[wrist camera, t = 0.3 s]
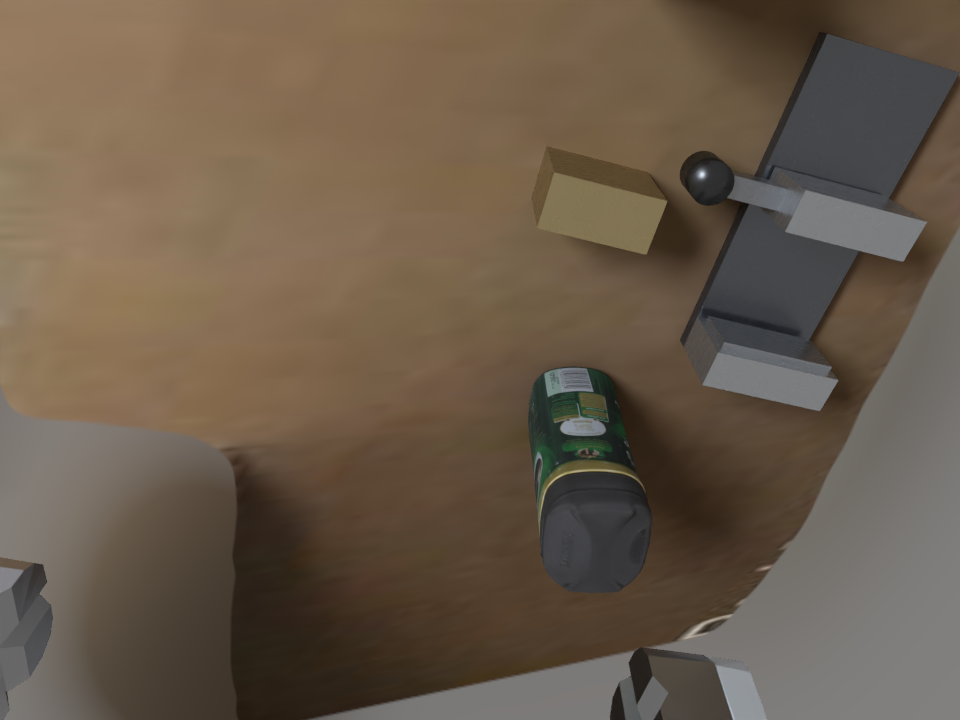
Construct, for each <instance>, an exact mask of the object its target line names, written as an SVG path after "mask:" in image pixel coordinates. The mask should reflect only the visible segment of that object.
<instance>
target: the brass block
mask: <svg viewBox="0 0 960 720" xmlns="http://www.w3.org/2000/svg"><path fill="white" fill-rule="evenodd" d="M532 202H533V208H534V213H535V219H536V225H537V228H538V229H542V230H546V231H550V232H554V233H558V234H562V235H567V236H571V237H575V238H579V239H583V240H587V241H591V242H595V243H599V244H603V245H608V246H612V247H616V248H620V249H624V250H628V251H632V252H636V253H640V254H645V255H646V254H647V252H648V249H649V247H650V244H651V242H652V239H653V237H654V234H655V232H656V229H657V227H658V224H659V222H660V219H661V217H662V214H663V212H664V209H665V207H666V204H667V202H668V201H667V200H666V198H665V197H664V195H663V194H662V192H661V191H660V190H659V188H658V187H657V185H656V184H655V182H654V181H653V180H652V178H651V177H650V175H649V174H648V172H644V171H641V170H637V169H633V168H629V167H625V166H621V165H617V164H613V163H610V162H606V161H602V160H598V159H594V158H590V157H586V156H583V155H579V154H575V153H571V152H567V151H563V150H559V149H555V148H552V147H548V146H546V150H545V153H544V157H543V160H542V163H541V167H540V170H539V174H538V177H537V180H536V184H535V187H534V191H533V194H532Z"/></svg>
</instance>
